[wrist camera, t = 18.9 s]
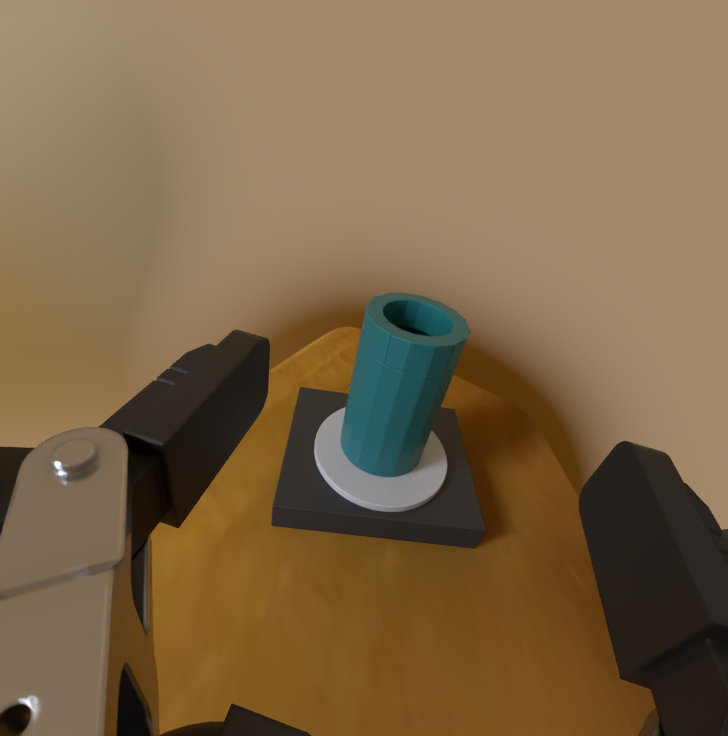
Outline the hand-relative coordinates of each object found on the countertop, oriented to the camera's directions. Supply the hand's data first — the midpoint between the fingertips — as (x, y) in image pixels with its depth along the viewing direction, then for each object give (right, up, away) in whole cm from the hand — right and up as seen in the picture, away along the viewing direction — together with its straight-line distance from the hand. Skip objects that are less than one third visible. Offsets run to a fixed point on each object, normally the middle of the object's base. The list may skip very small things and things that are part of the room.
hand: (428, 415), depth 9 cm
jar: (0, -5, +21) cm, 21 cm away
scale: (-1, -7, +22) cm, 23 cm away
